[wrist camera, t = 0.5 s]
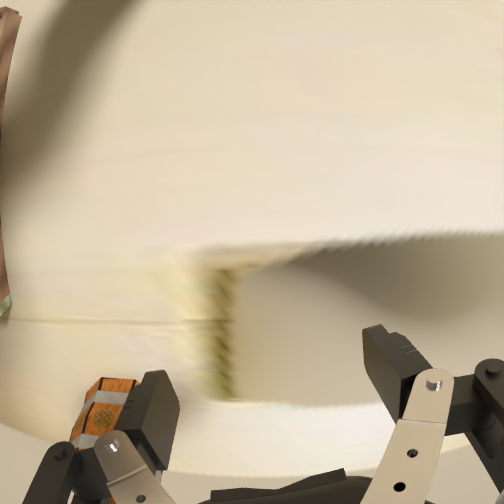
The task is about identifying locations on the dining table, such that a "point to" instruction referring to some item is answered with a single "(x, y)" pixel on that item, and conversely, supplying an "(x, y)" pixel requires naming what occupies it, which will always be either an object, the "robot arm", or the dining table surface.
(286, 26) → the dining table surface
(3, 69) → the wooden divided tray
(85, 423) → the mug
